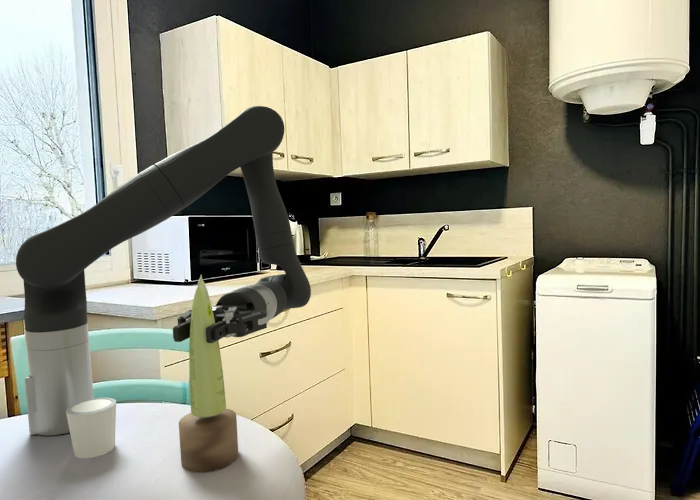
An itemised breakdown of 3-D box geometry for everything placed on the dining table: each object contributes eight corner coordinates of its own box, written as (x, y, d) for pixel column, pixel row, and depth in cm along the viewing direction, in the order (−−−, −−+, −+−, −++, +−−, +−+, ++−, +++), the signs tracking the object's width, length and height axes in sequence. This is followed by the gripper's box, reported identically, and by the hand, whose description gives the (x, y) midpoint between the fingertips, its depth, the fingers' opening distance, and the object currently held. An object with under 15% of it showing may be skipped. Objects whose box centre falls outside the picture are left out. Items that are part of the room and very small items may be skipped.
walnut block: (179, 477, 69) (176, 434, 68) (182, 450, 77) (180, 412, 76) (240, 467, 71) (237, 425, 71) (237, 442, 79) (234, 404, 78)
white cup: (99, 461, 74) (95, 415, 73) (58, 459, 75) (54, 413, 75) (129, 440, 81) (125, 397, 80) (91, 438, 82) (87, 395, 82)
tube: (236, 409, 74) (227, 276, 72) (208, 422, 70) (197, 281, 68) (211, 402, 77) (201, 274, 75) (182, 414, 73) (171, 279, 71)
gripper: (208, 286, 88) (144, 307, 71) (285, 287, 84) (238, 309, 67) (211, 329, 88) (148, 360, 72) (288, 331, 85) (241, 364, 68)
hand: (192, 335), depth 70 cm, fingers closed on tube, 4 cm apart
